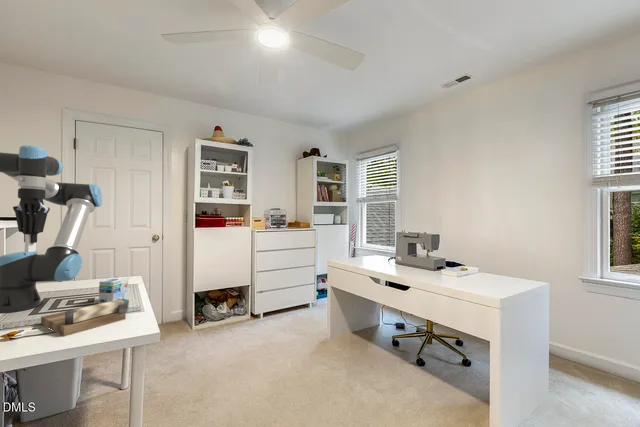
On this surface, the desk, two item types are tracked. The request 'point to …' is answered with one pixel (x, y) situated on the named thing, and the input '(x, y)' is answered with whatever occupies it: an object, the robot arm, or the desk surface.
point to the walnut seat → (59, 326)
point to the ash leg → (93, 311)
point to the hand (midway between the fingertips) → (30, 251)
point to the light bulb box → (113, 289)
